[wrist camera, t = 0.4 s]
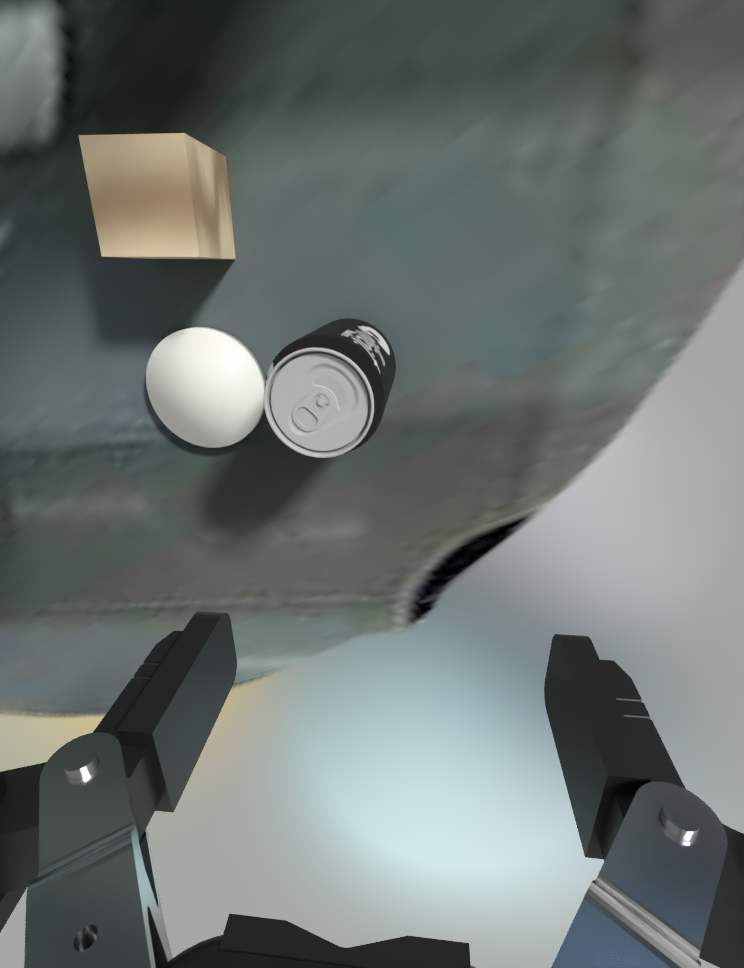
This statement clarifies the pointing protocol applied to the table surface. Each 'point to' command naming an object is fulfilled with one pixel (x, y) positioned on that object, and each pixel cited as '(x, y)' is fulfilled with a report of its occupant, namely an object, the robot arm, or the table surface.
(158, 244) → the oak cube
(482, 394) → the table surface
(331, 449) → the beverage can
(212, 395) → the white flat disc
